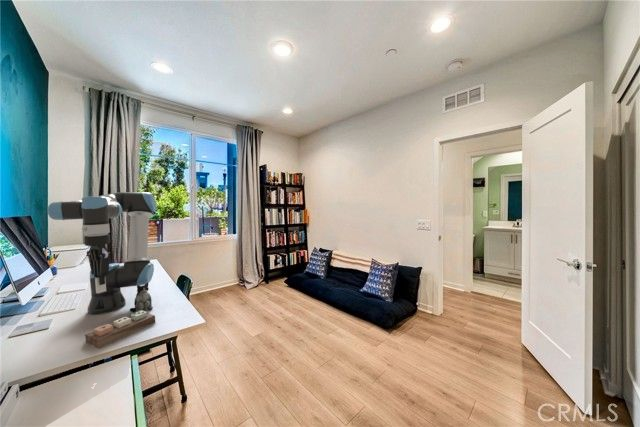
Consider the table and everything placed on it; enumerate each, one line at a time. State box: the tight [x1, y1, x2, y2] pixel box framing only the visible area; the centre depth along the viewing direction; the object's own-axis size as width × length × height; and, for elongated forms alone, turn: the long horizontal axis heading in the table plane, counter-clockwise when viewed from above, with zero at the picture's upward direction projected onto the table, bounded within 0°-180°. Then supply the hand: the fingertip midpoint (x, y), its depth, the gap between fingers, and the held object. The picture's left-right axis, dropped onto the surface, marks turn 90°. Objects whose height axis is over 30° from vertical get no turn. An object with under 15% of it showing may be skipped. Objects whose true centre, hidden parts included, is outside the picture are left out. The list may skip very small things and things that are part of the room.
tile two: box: [113, 316, 131, 328], centre depth 102 cm, size 4×4×5 cm
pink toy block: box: [93, 323, 113, 337], centre depth 96 cm, size 4×4×5 cm
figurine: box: [129, 283, 153, 313], centre depth 121 cm, size 10×10×15 cm
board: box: [84, 312, 156, 350], centre depth 102 cm, size 10×21×4 cm, turn 156°
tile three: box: [130, 310, 148, 321], centre depth 108 cm, size 4×4×5 cm
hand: (101, 291), depth 95 cm, fingers closed
